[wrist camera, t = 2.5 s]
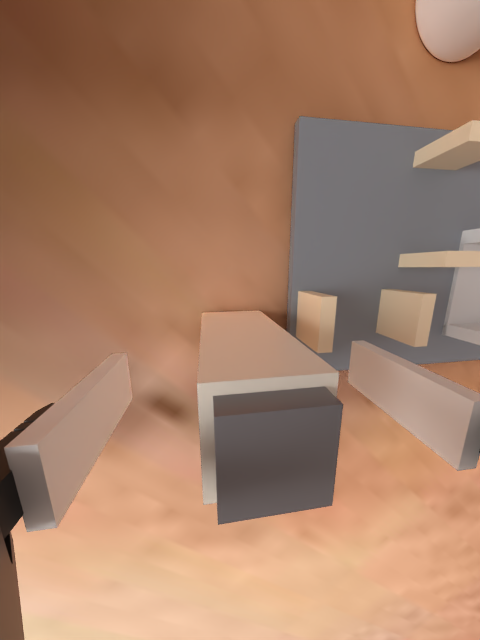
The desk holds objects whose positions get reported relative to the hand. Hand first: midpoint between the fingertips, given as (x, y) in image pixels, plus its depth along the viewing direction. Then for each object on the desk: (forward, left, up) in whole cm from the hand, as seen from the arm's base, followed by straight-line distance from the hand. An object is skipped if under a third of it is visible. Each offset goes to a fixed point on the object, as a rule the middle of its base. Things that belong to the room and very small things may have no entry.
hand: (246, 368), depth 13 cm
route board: (+15, +6, -5) cm, 17 cm away
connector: (0, 0, -5) cm, 5 cm away
